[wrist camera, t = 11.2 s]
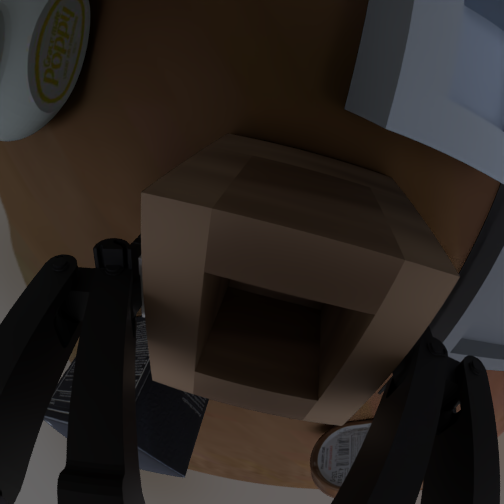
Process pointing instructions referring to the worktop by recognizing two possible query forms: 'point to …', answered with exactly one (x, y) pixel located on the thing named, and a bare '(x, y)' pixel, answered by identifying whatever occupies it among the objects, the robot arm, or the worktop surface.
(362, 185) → the brown open cube box
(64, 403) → the small box
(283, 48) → the worktop surface
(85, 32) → the air freshener
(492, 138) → the block
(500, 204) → the tray
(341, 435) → the tin
